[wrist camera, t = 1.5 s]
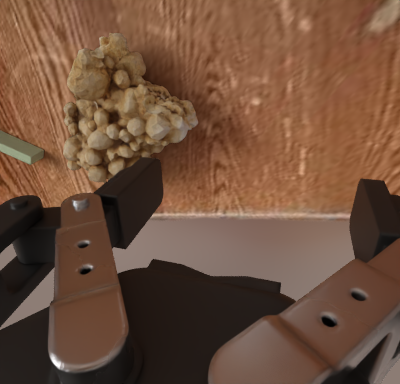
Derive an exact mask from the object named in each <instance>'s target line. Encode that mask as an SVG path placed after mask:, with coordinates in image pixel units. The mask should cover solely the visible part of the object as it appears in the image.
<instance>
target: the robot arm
mask: <svg viewBox="0 0 400 384" xmlns="http://www.w3.org/2000/svg"><path fill="white" fill-rule="evenodd" d="M162 199H163V181H162V170H161V162H160V160H159V159H158V158H148V157H141V158H140V159H138V160H137V161H136V162H135V163H134V164H133V165H132V166H129V167H127V168H125V169H123V170H120V171H119V172H118V173H117V174H115V175H114V176H113V177H112V178H111V179H109V180H108V182H106V183H105V184H104V185H102V186H101V187H100V188H99V189H98V190H96V191H95V192H94V193H80V194H76V195H73V196H70V197H68V198H67V199H65V200H64V201H63V202H62V204H61V207H50V208H43V206H42V202H41V199H40V198H39V197H37V196H33V195H26V196H20V197H16V198H13V199H10V200H8V201H6V202H4V203H3V204H1V205H0V253H1V252H2V251H3V250H4V249H5V248H6V247H8V246H9V245H10V244H11V243H12V244H13V246H14V249H15V252H16V254H17V256H16V257H15V258H14V259H13V260H12V261H10V262H9V263H8V264H7V265H6V266H5V267H4V268H3V269H2V270H1V271H0V327H1V325H2V324H3V323H4V322H5V321H6V320H7V319H8V318H9V317H10V316H11V314H12V313H13V312H14V311H15V310H16V309H17V308H18V307H19V306H20V304H21V303H22V302H23V301H24V300H25V299H26V298H27V297H28V296H29V295H30V293H31V292H32V291H33V290H34V289H35V288H36V287H37V286H38V285H39V283H40V282H41V281H42V280H43V279H44V278H45V277H46V276H47V275H48V274H49V272H50V271H51V270H52V269H53V268H54V267H55V274H54V300H53V301H52V302H51V303H50V306H49V307H47V308H45V309H43V310H41V311H39V312H37V313H35V314H32V315H31V316H28V317H26V318H24V319H22V320H20V321H18V322H16V323H14V324H12V325H10V326H8V327H6V328H3V329H1V330H0V384H381V383H382V381H383V379H384V378H385V376H386V374H387V373H388V372H389V370H390V369H391V368H392V367H393V366H394V364H395V363H396V362H397V361H398V359H399V358H400V196H398V195H390V193H389V191H388V189H387V187H386V184H385V182H384V181H381V180H371V179H360V181H359V184H358V187H357V191H356V196H355V200H354V204H353V208H352V212H351V216H350V234H351V239H352V245H353V250H354V255H355V259H354V260H352V261H351V262H349V263H348V264H347V265H345V266H344V267H343V268H341V269H340V270H339V271H337V272H336V273H335V274H333V275H332V276H330V277H329V278H328V279H326V280H325V281H324V282H322V283H321V284H320V285H318V286H317V287H315V288H314V289H313V290H311V291H310V292H309V293H308V294H306V295H305V296H303V297H302V298H301V299H299V300H298V301H295V300H294V299H292V298H290V297H288V296H286V295H284V294H281V293H280V287H281V283H280V282H274V281H269V280H264V279H258V278H253V277H246V276H239V277H238V276H235V277H234V276H209V275H207V274H204V273H202V272H199V271H197V270H194V269H192V268H190V267H187V266H185V265H182V264H177V263H172V262H167V261H161V260H156V259H153V260H152V261H151V263H150V264H149V266H148V267H147V268H138V269H132V270H128V271H124V272H121V273H118V274H117V270H116V266H115V261H114V257H113V252H112V248H113V247H116V248H122V249H126V248H127V247H128V246H129V244H130V243H131V242H132V240H133V239H134V238H135V237H136V235H137V234H138V233H139V231H140V230H141V229H142V228H143V226H144V225H145V224H146V222H147V221H148V220H149V218H150V217H151V216H152V215H153V213H154V212H155V211H156V209H157V208H158V207H159V205H160V204H161V202H162Z"/></svg>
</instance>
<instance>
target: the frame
mask: <svg viewBox="0 0 400 384" xmlns="http://www.w3.org/2000/svg"><path fill="white" fill-rule="evenodd" d="M0 151H1V152H3V153H6V154H8V155H10V156H12V157H14V158H17V159H19V160H21V161H23V162H26V163H28V164H30V165H31V164H33V163H35V162H36V161H38V160H40V159H42V158H43V157H44V150H43V149H41V148H38V147H36V146H34V145H32V144H29V143H27V142H25V141H23V140H21V139H18V138H16V137H14V136H12V135H9V134H7V133H5V132H3V131H0Z"/></svg>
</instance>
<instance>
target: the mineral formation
mask: <svg viewBox="0 0 400 384" xmlns="http://www.w3.org/2000/svg"><path fill="white" fill-rule="evenodd" d="M99 39H100V47H99V48H96V49H95V51H92V50H90V49H87V48H84V49H82V50H79V52H78V55H77V58H76V59H75V60H74V63H73V66H72V69H71V72H70V74H69V77H68V80H67V85H68V87H69V89H70V91H71V92H72V93H73V94H75V95H74V97H75V98H76V99H77V100H76V104H74V103H72V102H69V103H67V104H66V105H65V107H64V112H65V113H66V114H67V115H66V117H65V119H64V122H65V124H66V126H68V130H69V132H70V134H71V135H72V136H71V137H70V138H68V139H67V141H66V142H65V145H64V152H63V154H64V157H65V158H66V159H68V160H69V161H68V167H69V168H70V169H71V170H79V169H80V168H81V167H83V168H85V169H86V170H87V171H89V173H88V176H89V179H90V180H91V181H95V182H104V183H105V182H106V179H108V180H109V179H111V178H112V177H113V176H114V175H115V174H117V173H118V172H119V171H120V170H123V169H125V168H127V167H129V166H132V165H133V164H134V163H135V162H136V161H137V160H138V159H140V158H141V157H148V158H151V156H150V154H153V153H159V152H161V151H162V149H163V148H164V146H166V145H168V143H171V142H172V143H178V142H180V141H182V139H183V138H184V137H185V136H186V134H187V131H188V130H191V129H192V128H194V127H195V126H196V125H197V124H198V120H197V117H196V112H195V110H194V107H193V105H192V103H191V101H188V100H187V101H181V100H179V99H178V98H177V97H175V96H173V97H171V95H170V94H169V92H168V91H167V89H166V88H164V87H163V86H157V85H155V84H154V85H152V83H150V82H149V81H145V80H144V79H143V78H142V76H143V75H144V73H145V71H146V66H145V64H144V62H143V58H142V55H141V54H139V53H138V52H130V51H129V50H128V47H127V42H126V38H125V37H124V36H123V34H120V33H109V38H108V37H103V36H102V37H100V38H99Z"/></svg>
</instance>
